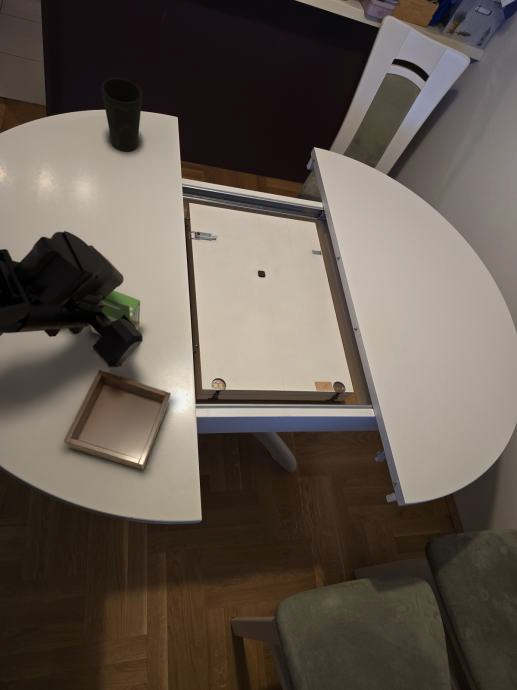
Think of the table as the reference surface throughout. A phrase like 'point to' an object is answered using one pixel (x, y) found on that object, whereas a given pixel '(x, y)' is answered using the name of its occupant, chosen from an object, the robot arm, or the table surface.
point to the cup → (122, 112)
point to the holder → (118, 420)
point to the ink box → (120, 307)
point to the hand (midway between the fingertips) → (121, 307)
